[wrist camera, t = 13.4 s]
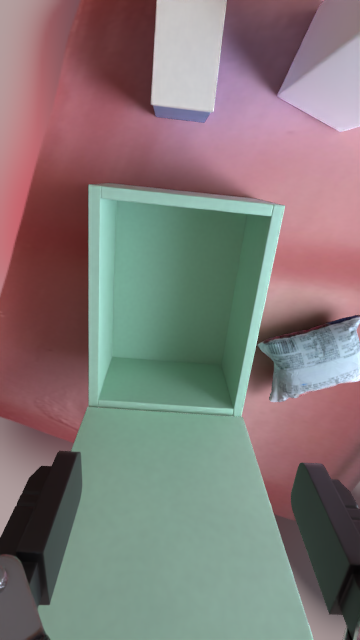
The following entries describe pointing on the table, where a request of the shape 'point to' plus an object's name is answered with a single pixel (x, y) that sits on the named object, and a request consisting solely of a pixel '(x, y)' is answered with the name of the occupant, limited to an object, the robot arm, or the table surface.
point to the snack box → (186, 58)
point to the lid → (172, 536)
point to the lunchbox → (175, 296)
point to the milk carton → (328, 67)
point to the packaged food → (314, 358)
